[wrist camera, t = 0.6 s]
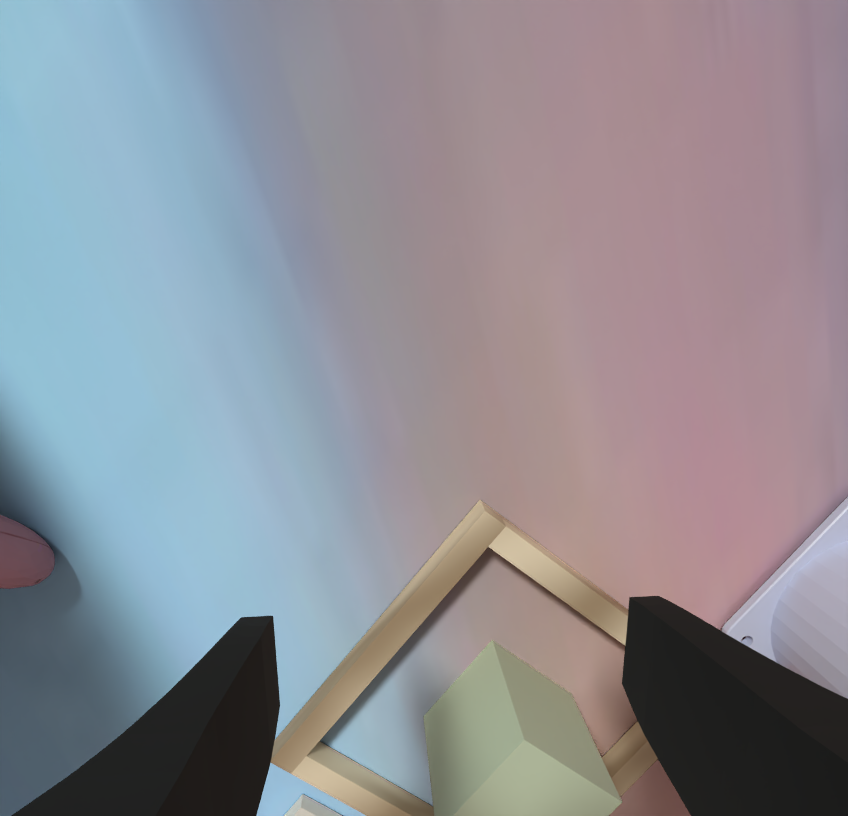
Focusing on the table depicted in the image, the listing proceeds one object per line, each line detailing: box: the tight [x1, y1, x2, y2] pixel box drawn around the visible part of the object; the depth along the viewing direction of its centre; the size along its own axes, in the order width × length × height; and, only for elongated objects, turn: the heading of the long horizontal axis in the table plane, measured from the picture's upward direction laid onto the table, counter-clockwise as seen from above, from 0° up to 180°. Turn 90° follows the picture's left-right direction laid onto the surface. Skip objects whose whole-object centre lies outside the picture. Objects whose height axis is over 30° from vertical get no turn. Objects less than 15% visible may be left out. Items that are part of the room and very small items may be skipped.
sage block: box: [423, 640, 622, 816], centre depth 21 cm, size 4×4×5 cm
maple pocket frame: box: [271, 500, 658, 816], centre depth 23 cm, size 13×13×1 cm
